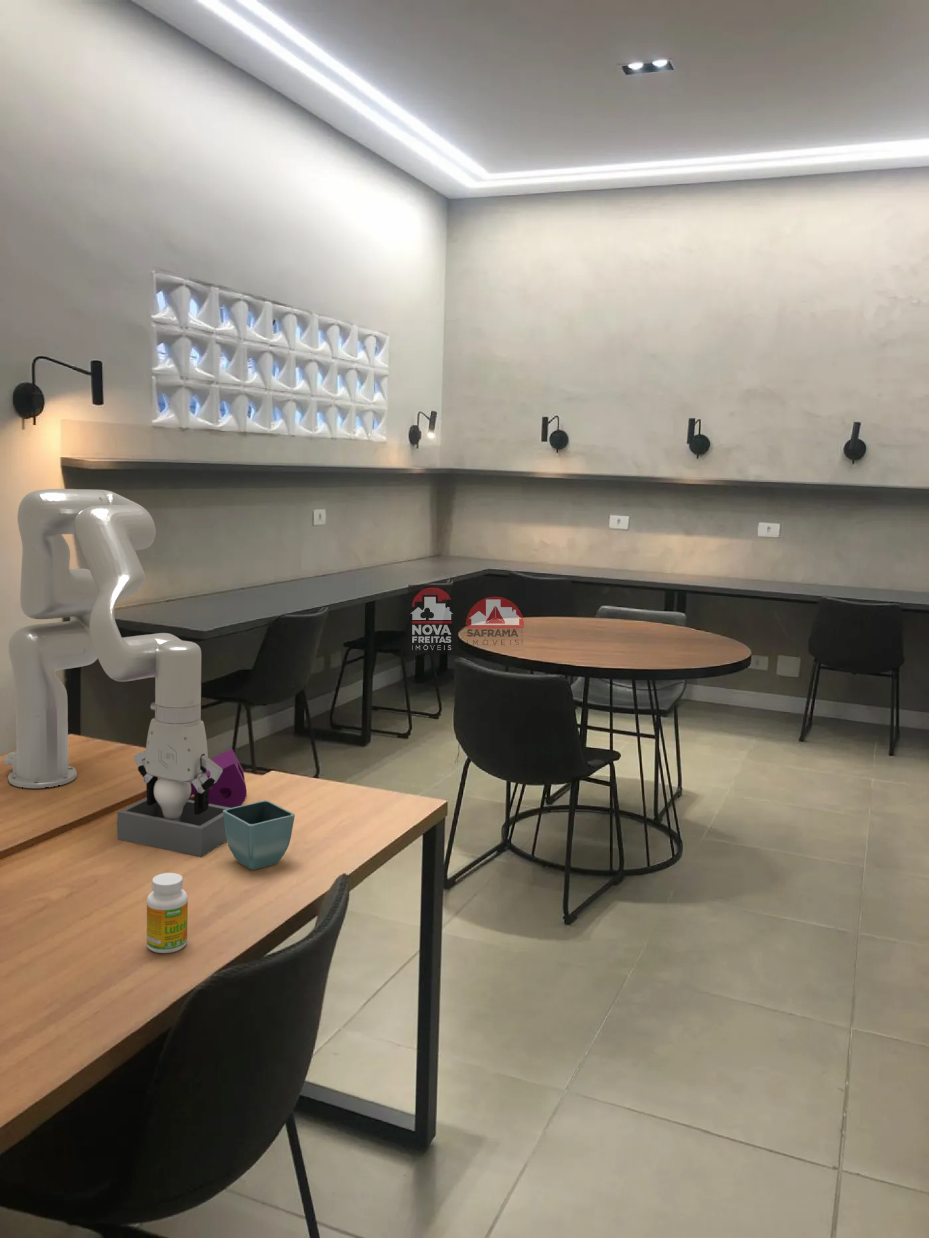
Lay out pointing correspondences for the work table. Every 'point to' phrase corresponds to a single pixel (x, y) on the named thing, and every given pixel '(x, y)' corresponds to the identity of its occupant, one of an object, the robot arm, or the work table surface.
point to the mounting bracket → (227, 782)
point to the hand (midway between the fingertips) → (177, 807)
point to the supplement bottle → (167, 914)
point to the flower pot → (258, 833)
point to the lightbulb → (172, 797)
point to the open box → (172, 828)
